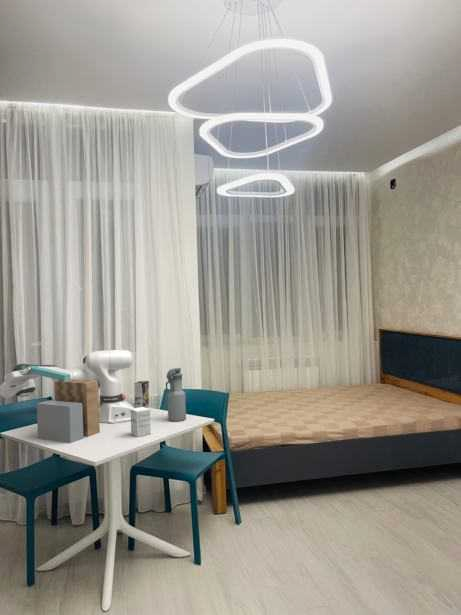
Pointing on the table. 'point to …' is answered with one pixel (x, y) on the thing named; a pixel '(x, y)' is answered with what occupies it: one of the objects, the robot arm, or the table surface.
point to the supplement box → (140, 422)
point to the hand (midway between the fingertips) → (34, 367)
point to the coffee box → (141, 394)
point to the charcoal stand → (60, 421)
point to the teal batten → (50, 373)
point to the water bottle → (175, 396)
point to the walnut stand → (81, 401)
